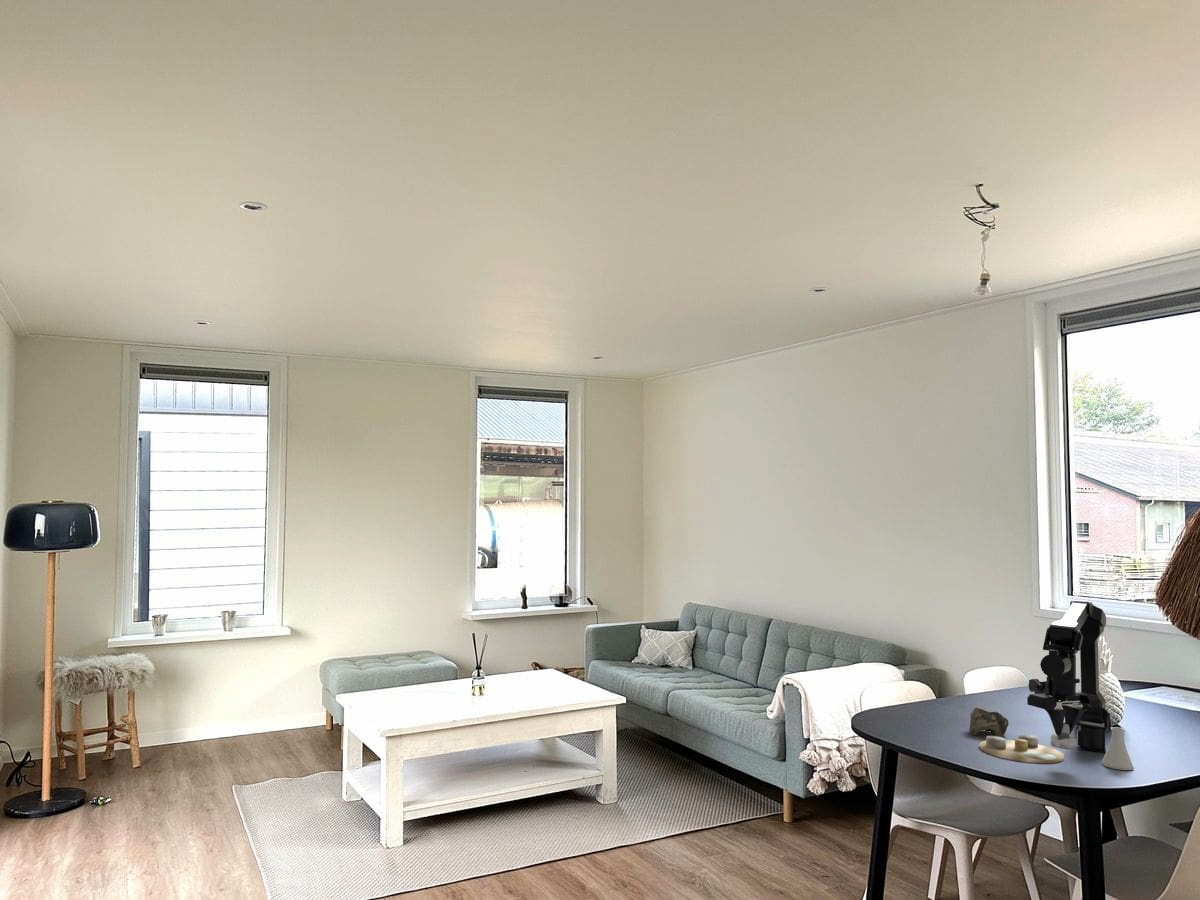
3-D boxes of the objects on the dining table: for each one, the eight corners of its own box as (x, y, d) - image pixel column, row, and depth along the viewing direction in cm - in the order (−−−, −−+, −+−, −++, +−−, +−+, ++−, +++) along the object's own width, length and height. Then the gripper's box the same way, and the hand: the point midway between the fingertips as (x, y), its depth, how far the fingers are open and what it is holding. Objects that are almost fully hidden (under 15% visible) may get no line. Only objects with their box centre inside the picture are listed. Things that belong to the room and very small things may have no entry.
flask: (1122, 763, 240) (1122, 725, 241) (1139, 771, 233) (1139, 732, 234) (1096, 762, 240) (1096, 724, 241) (1112, 770, 233) (1112, 731, 233)
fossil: (1005, 730, 271) (1008, 703, 267) (1008, 751, 263) (1012, 724, 259) (966, 725, 274) (969, 699, 270) (968, 746, 266) (972, 719, 262)
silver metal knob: (1074, 745, 234) (1075, 722, 234) (1075, 750, 229) (1075, 726, 229) (1050, 742, 236) (1050, 719, 237) (1051, 747, 231) (1051, 723, 232)
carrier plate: (1063, 749, 252) (1063, 737, 252) (1065, 767, 233) (1065, 755, 234) (981, 738, 261) (981, 727, 262) (977, 755, 243) (977, 742, 243)
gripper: (1066, 667, 244) (1065, 725, 243) (1011, 668, 238) (1010, 728, 237) (1101, 674, 234) (1100, 735, 233) (1044, 676, 228) (1044, 739, 227)
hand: (1063, 734), depth 233 cm, fingers closed on silver metal knob, 3 cm apart
